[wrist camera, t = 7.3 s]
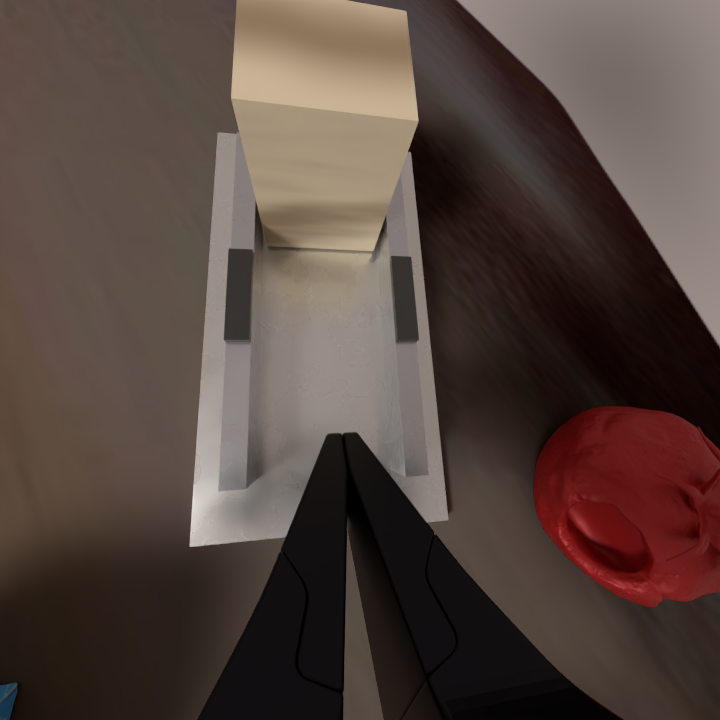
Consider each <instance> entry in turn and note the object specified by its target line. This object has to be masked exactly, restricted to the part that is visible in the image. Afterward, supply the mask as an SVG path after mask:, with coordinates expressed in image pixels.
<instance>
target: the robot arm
mask: <svg viewBox="0 0 720 720" xmlns="http://www.w3.org/2000/svg"><path fill="white" fill-rule="evenodd" d="M347 529H348V534H349V539H350V545H351V550H352V555H353V560H354V566H355V571H356V576H357V581H358V587H359V592H360V597H361V602H362V608H363V613H364V618H365V623H366V629H367V634H368V639H369V644H370V650H371V655H372V660H373V665H374V670H375V676H376V681H377V686H378V691H379V697H380V702H381V707H382V712H383V718H384V720H623V719H622V718H620V717H619V716H617V715H616V714H614V713H613V712H611V711H610V710H608V709H607V708H605V707H604V706H602V705H601V704H599V703H598V702H597V701H595V700H594V699H592V698H591V697H589V696H588V695H587V694H585V693H584V692H583V691H582V690H580V689H579V688H578V687H576V686H575V685H574V684H573V683H572V682H571V681H569V680H568V679H567V678H566V677H565V676H564V675H563V674H561V673H560V672H559V671H558V670H557V669H556V668H555V667H554V666H553V665H552V664H551V663H550V662H549V661H548V660H547V659H546V658H545V657H544V656H543V655H542V654H541V653H540V652H539V650H538V649H537V648H536V647H535V646H534V645H533V644H532V643H531V642H530V641H529V640H528V639H527V638H526V637H525V635H524V634H523V633H522V632H521V631H520V630H519V629H518V628H517V627H516V626H515V625H514V624H513V623H512V621H511V620H510V619H509V618H508V617H507V616H506V615H505V614H504V613H503V612H502V611H501V610H500V609H499V608H498V606H497V605H496V604H495V603H494V602H493V601H492V600H491V599H490V598H489V597H488V596H487V595H486V594H485V592H484V591H483V590H482V589H481V588H480V587H479V586H478V585H477V583H476V582H475V581H474V580H473V579H472V578H471V577H470V576H469V575H468V573H467V572H466V571H465V570H464V569H463V568H462V566H461V565H460V564H459V563H458V561H457V560H456V559H455V558H454V557H453V555H452V554H451V553H450V552H449V550H448V549H447V548H446V547H445V545H444V544H443V543H442V541H441V540H440V539H439V537H438V536H437V535H434V531H433V530H432V529H431V527H430V526H429V525H428V523H427V522H426V521H425V519H424V518H423V517H422V516H421V514H420V513H419V512H418V510H417V509H416V508H415V507H414V505H413V504H412V503H411V501H410V500H409V499H408V497H407V496H406V495H405V494H404V492H403V491H402V490H401V488H400V487H399V486H398V485H397V483H396V482H395V481H394V479H393V478H392V477H391V475H390V474H389V473H388V472H387V470H386V469H385V468H384V466H383V465H382V464H381V463H380V461H379V460H378V459H377V457H376V456H375V455H374V453H373V452H372V451H371V450H370V448H369V447H368V446H367V444H366V443H365V442H364V441H363V439H362V438H361V437H360V435H359V434H358V433H357V432H345V433H343V434H341V433H328V434H327V435H326V437H325V440H324V442H323V445H322V447H321V450H320V452H319V455H318V457H317V460H316V462H315V465H314V467H313V470H312V472H311V475H310V477H309V480H308V482H307V485H306V487H305V490H304V492H303V495H302V497H301V500H300V502H299V505H298V507H297V510H296V512H295V515H294V517H293V520H292V522H291V525H290V527H289V530H288V532H287V535H286V537H285V540H284V542H283V545H282V547H281V552H280V553H279V554H278V557H277V559H276V562H275V564H274V567H273V569H272V572H271V574H270V576H269V579H268V581H267V583H266V586H265V588H264V590H263V593H262V595H261V597H260V599H259V601H258V603H257V605H256V607H255V609H254V611H253V614H252V616H251V618H250V620H249V622H248V624H247V626H246V628H245V630H244V632H243V634H242V636H241V637H240V639H239V641H238V643H237V645H236V647H235V649H234V651H233V653H232V655H231V656H230V658H229V660H228V662H227V664H226V666H225V668H224V670H223V672H222V674H221V675H220V677H219V679H218V681H217V683H216V685H215V687H214V689H213V691H212V693H211V695H210V696H209V698H208V700H207V702H206V704H205V706H204V708H203V710H202V712H201V714H200V715H199V717H198V719H197V720H343V690H344V648H345V600H346V552H347ZM433 535H434V536H433Z"/></svg>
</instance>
